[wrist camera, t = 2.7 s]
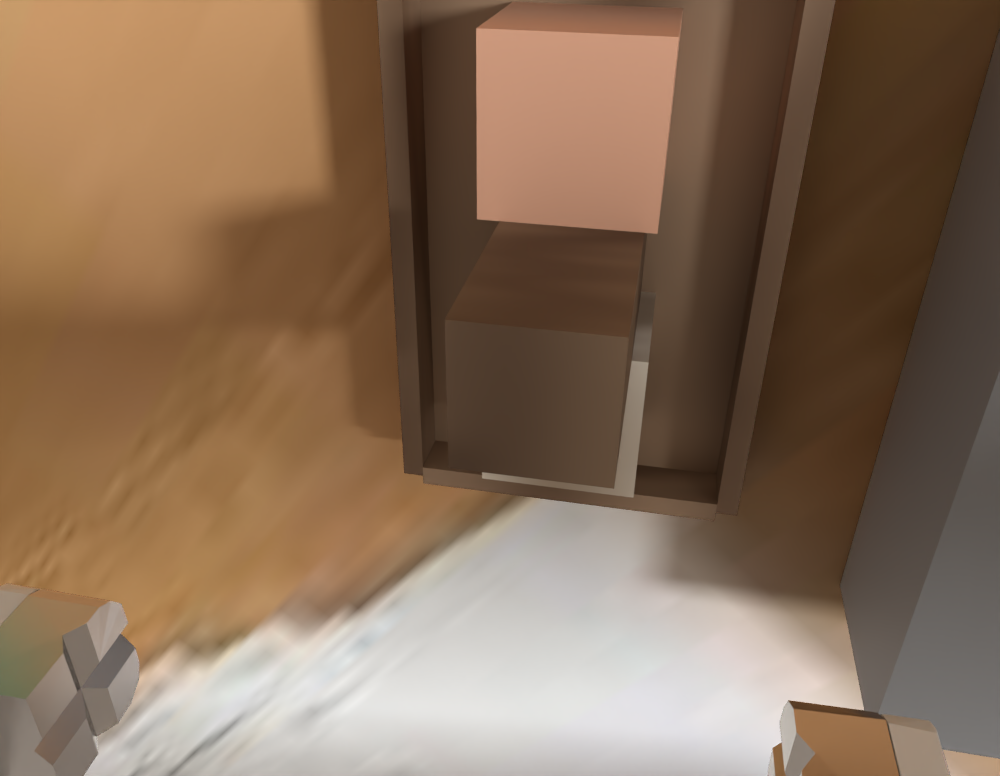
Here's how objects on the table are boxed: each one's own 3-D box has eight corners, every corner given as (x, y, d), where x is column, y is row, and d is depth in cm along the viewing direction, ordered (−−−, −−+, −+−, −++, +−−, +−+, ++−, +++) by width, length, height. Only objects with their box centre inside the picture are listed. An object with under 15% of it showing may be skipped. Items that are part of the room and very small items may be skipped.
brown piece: (836, -111, 20) (946, -91, 11) (732, 464, 28) (746, 741, 19) (409, -118, 21) (203, -105, 12) (430, 428, 30) (314, 668, 21)
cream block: (656, 292, 24) (648, 362, 21) (641, 415, 26) (633, 497, 23) (512, 280, 25) (482, 345, 21) (509, 401, 27) (482, 478, 23)
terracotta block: (683, 8, 20) (678, 37, 17) (664, 177, 22) (657, 233, 19) (512, 1, 21) (476, 28, 17) (510, 167, 23) (477, 219, 20)
